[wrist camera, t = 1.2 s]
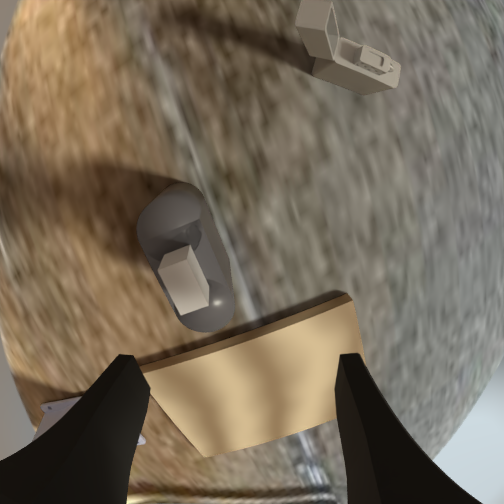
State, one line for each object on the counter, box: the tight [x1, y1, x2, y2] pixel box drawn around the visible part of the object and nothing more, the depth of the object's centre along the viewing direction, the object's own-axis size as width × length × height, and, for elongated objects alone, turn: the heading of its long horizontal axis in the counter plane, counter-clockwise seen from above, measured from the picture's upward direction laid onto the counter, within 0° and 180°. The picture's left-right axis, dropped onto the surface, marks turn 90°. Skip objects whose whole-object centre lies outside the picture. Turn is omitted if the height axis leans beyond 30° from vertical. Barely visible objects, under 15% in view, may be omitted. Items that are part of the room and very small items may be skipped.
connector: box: [137, 182, 235, 332], centre depth 18 cm, size 3×8×8 cm, turn 20°
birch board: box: [139, 294, 366, 457], centre depth 26 cm, size 18×13×1 cm
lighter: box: [295, 0, 401, 96], centre depth 15 cm, size 7×2×8 cm, turn 76°
